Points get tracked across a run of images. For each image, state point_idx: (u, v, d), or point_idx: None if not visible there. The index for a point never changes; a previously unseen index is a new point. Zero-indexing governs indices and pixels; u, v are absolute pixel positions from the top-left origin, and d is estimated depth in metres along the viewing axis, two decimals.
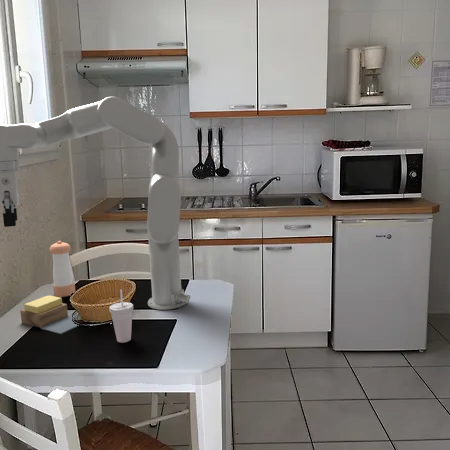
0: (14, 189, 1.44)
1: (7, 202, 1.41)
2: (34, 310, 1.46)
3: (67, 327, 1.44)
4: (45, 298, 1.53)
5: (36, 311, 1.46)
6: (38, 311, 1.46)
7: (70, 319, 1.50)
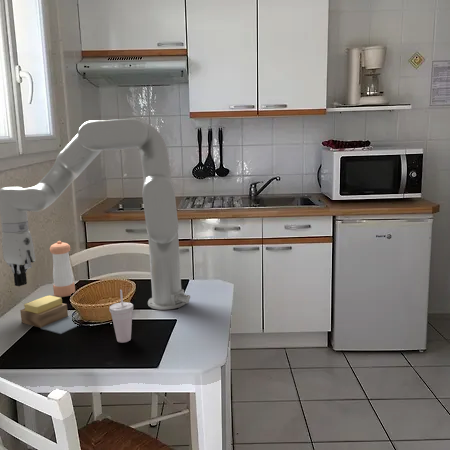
0: (33, 247, 1.52)
1: None
2: (34, 310, 1.46)
3: (67, 327, 1.44)
4: (45, 298, 1.53)
5: (36, 311, 1.46)
6: (38, 311, 1.46)
7: (70, 319, 1.50)
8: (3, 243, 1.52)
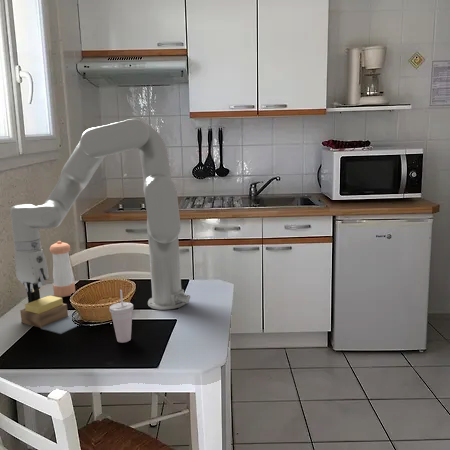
0: (46, 265, 1.50)
1: (42, 286, 1.50)
2: (34, 310, 1.46)
3: (67, 327, 1.44)
4: (46, 298, 1.53)
5: (37, 311, 1.46)
6: (39, 311, 1.46)
7: (70, 319, 1.50)
8: (16, 261, 1.51)
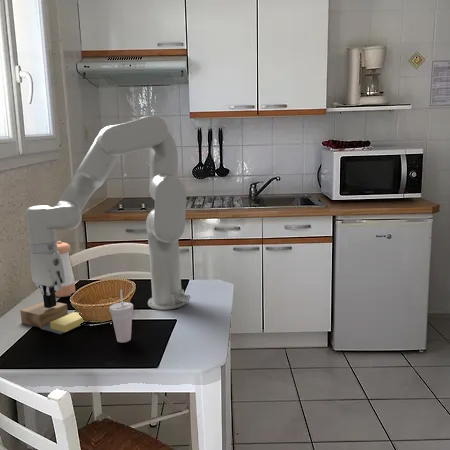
0: (62, 268, 1.46)
1: (59, 289, 1.46)
2: (54, 325, 1.43)
3: None
4: None
5: (51, 324, 1.43)
6: None
7: None
8: (31, 264, 1.47)
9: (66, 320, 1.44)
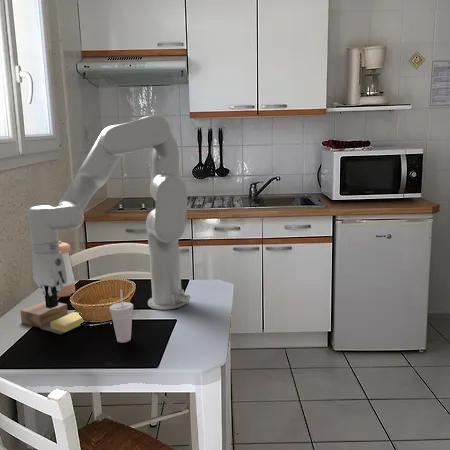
0: (64, 268, 1.46)
1: (61, 289, 1.45)
2: (54, 325, 1.43)
3: None
4: None
5: (51, 324, 1.43)
6: None
7: None
8: (33, 264, 1.46)
9: (66, 320, 1.44)
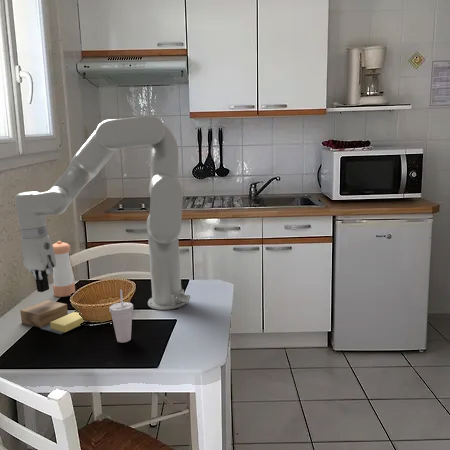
0: (53, 252, 1.49)
1: None
2: (54, 325, 1.43)
3: None
4: None
5: (51, 324, 1.43)
6: None
7: None
8: (23, 249, 1.50)
9: (66, 320, 1.44)
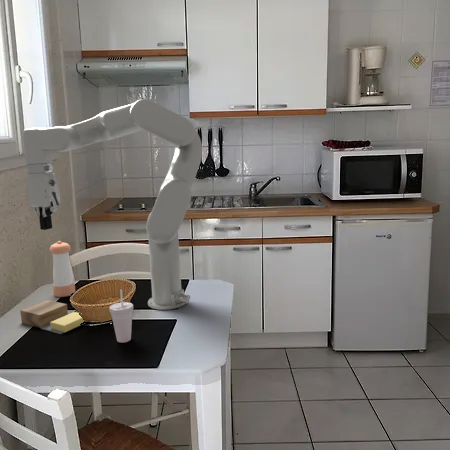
0: (58, 190, 1.50)
1: (55, 210, 1.49)
2: (54, 325, 1.43)
3: None
4: None
5: (51, 324, 1.43)
6: None
7: None
8: (28, 186, 1.50)
9: (66, 320, 1.44)
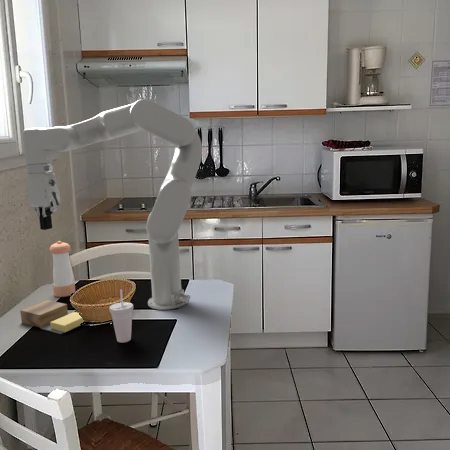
0: (58, 190, 1.50)
1: (55, 210, 1.49)
2: (54, 325, 1.43)
3: None
4: None
5: (51, 324, 1.43)
6: None
7: None
8: (28, 186, 1.50)
9: (66, 320, 1.44)
